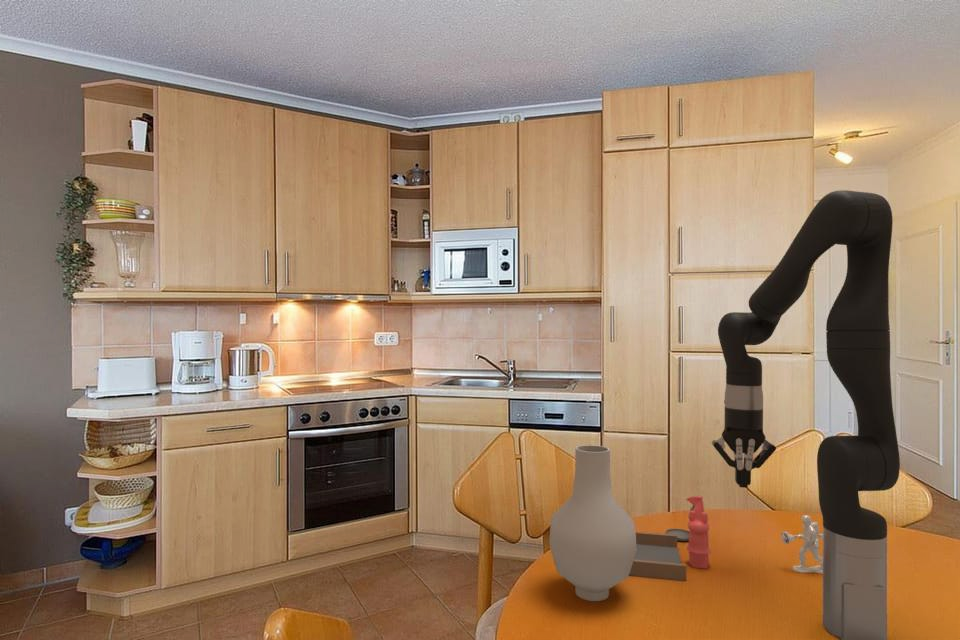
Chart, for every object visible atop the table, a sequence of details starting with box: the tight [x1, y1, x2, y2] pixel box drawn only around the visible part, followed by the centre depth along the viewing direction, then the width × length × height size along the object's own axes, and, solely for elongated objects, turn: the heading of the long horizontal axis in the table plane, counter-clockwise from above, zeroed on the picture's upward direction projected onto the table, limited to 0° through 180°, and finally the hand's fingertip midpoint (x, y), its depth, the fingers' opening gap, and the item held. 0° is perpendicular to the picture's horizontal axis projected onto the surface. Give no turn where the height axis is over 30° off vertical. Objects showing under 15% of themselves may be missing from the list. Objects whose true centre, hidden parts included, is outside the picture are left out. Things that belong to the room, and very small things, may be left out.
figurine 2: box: [685, 495, 712, 569], centre depth 127 cm, size 5×5×15 cm
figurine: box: [780, 514, 823, 575], centre depth 124 cm, size 5×9×12 cm, turn 99°
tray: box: [629, 531, 687, 582], centre depth 129 cm, size 18×18×3 cm
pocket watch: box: [664, 504, 695, 542], centre depth 142 cm, size 8×8×10 cm
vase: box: [548, 444, 637, 602], centre depth 113 cm, size 17×16×28 cm
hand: (743, 486), depth 125 cm, fingers closed
